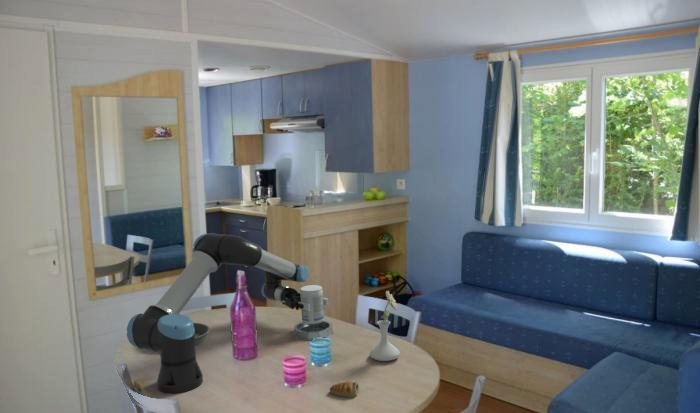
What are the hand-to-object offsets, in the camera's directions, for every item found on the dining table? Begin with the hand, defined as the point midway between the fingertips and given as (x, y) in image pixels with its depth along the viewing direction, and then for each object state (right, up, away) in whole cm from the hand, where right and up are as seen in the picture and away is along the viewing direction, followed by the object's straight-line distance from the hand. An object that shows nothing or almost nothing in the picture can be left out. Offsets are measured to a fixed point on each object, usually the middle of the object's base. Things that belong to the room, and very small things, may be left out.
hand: (318, 304), depth 240 cm
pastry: (+12, -20, -54) cm, 59 cm away
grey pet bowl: (-3, -13, +5) cm, 14 cm away
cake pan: (-58, -16, +1) cm, 60 cm away
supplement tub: (-3, -8, +4) cm, 9 cm away
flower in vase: (+27, -16, -25) cm, 40 cm away
